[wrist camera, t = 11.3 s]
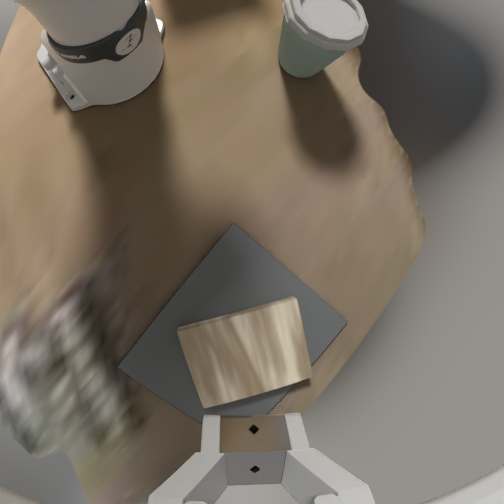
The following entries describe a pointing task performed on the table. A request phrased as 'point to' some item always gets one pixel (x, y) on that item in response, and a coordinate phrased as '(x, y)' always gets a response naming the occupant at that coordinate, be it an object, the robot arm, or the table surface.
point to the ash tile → (246, 352)
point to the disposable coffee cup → (318, 33)
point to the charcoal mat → (218, 304)
